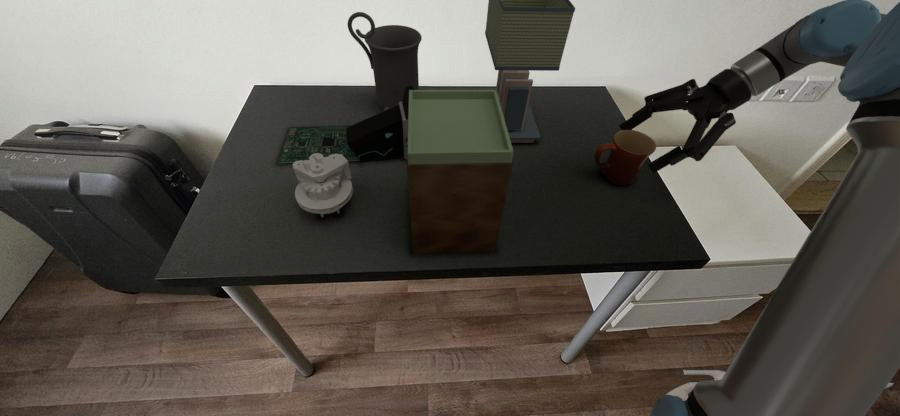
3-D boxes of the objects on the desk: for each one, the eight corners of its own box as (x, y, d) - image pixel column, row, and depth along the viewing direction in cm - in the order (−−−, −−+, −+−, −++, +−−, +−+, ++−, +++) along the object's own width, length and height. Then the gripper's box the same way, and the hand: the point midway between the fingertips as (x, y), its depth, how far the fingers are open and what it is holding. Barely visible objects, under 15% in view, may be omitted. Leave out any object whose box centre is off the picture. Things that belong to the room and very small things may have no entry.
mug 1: (426, 91, 109) (425, -1, 90) (431, 120, 99) (430, 23, 80) (362, 94, 107) (347, 0, 88) (360, 123, 97) (343, 25, 78)
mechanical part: (304, 232, 72) (286, 189, 63) (299, 191, 79) (283, 148, 70) (361, 219, 74) (352, 176, 66) (352, 180, 82) (342, 137, 73)
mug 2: (627, 164, 89) (645, 128, 81) (643, 189, 83) (663, 154, 76) (579, 165, 88) (593, 130, 80) (592, 191, 82) (608, 155, 75)
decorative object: (349, 144, 90) (339, 88, 79) (422, 138, 93) (422, 84, 82) (350, 166, 85) (340, 109, 74) (428, 158, 88) (428, 103, 77)
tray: (494, 100, 66) (496, 89, 64) (511, 163, 54) (513, 151, 53) (409, 100, 65) (409, 89, 63) (408, 164, 53) (407, 153, 52)
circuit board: (366, 160, 87) (365, 158, 86) (278, 163, 85) (277, 161, 84) (369, 126, 96) (369, 124, 95) (290, 128, 94) (289, 126, 93)
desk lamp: (539, 147, 92) (576, 8, 68) (483, 148, 91) (501, 6, 67) (525, 107, 105) (553, -23, 80) (476, 107, 104) (489, -25, 80)
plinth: (483, 187, 82) (495, 99, 66) (494, 251, 70) (513, 163, 54) (413, 188, 81) (408, 100, 65) (413, 253, 69) (406, 165, 53)
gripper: (790, 132, 64) (670, 197, 74) (707, 64, 81) (618, 124, 90) (784, 107, 60) (657, 179, 69) (698, 40, 76) (605, 106, 86)
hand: (634, 148), depth 80 cm, fingers open, 13 cm apart
